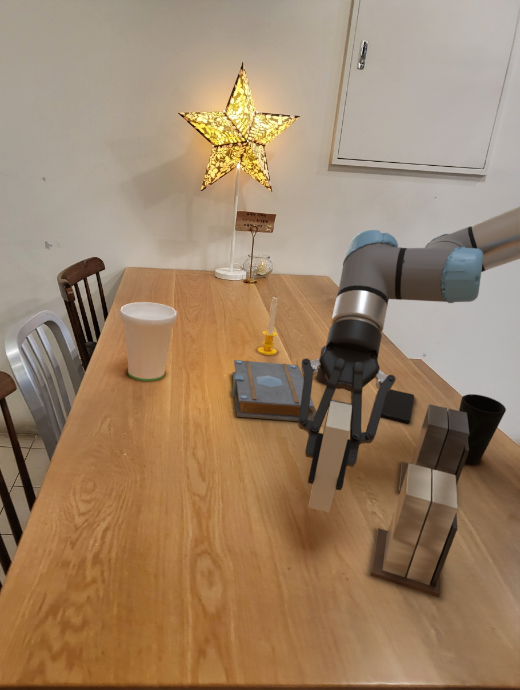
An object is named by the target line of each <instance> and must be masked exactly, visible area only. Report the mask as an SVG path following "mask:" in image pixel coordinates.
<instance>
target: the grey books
mask: <svg viewBox="0 0 520 690" xmlns="http://www.w3.org/2000/svg"><path fill="white" fill-rule="evenodd" d="M468 436H469V427H468V418H467V413H466V412H462V411H459V410H457V409H452V408H447V407H443V406H439V405H434V404H432V403H431V404H430V403H428V406H427V410H426V412H425V415H424V419H423V423H422V425H421V429H420V432H419V435H418V438H417V442H416V445H415V448H414V451H413V455H412V458H411V461H410V464H414V465H418V466H422V467H426V468H429V469H431V473H432V470H437V471H441V472H445V473H449V474H452V475H456V487H457V485H458V482H459V480H460V477H461V474H462V471H463V469H464V466H465V464H464V463H465V461H466V458H467V455H468V452H469V446H468ZM408 465H409V462H406V461H401V465H400V474H399V484H398V495H399V494H400V491H401V487H402V484H403V481H404V478H405V474H406V471H407V468H408Z"/></svg>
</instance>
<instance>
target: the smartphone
mask: <svg viewBox="0 0 520 690" xmlns="http://www.w3.org/2000/svg"><path fill="white" fill-rule="evenodd" d="M414 400H415V395H414V394H413V393H408V392H405V391H399V390H395V389H392V388H391V389H390V390H389V392H388V393H387V396H386V399H385V403H384V406H383V410H382V414H381V417H380V418H384V419H387V420H392V421H396V422H400V423H404V424H409V423H410V422H411V418H412V412H413V406H414Z"/></svg>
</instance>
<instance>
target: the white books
mask: <svg viewBox="0 0 520 690" xmlns="http://www.w3.org/2000/svg"><path fill="white" fill-rule="evenodd" d="M408 463H409V462H408ZM458 507H459V506H458V492H457V486H456V475H452V474H449V473H445V472H441V471H437V470H432V473H431V469H429V468H426V467H422V466H418V465H414V464H411V462H410V463H409V465H408V468H407V471H406V474H405V478H404V481H403V484H402V487H401V491H400V494H399V493H398V498H397V500H396V504H395V507H394V511H393V514H392V518H391V520H390V523H389V527H388V530H385V529H382V528H379V527H378V528H377V530H376V537H375V542H374V549H373V556H372V561H371V562H372V563H371V569H370V576H371V577H375V578H376V579H377V578H378V579H381V580H383V581H387V582H390V583H393V584H396V585H398V586H402V587H406V588H408V589H412V590H415V591H417V592H422V593H425V594H427V595H429V596H433V597H437V598H440V596H441V573H442V571H443V568H444V566H445V564H446V560H447V558H448V555H449V553H450V550H451V547H452V544H453V542H454V539H455V537H456V534H457V532H458V514H457V511H458Z"/></svg>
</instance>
